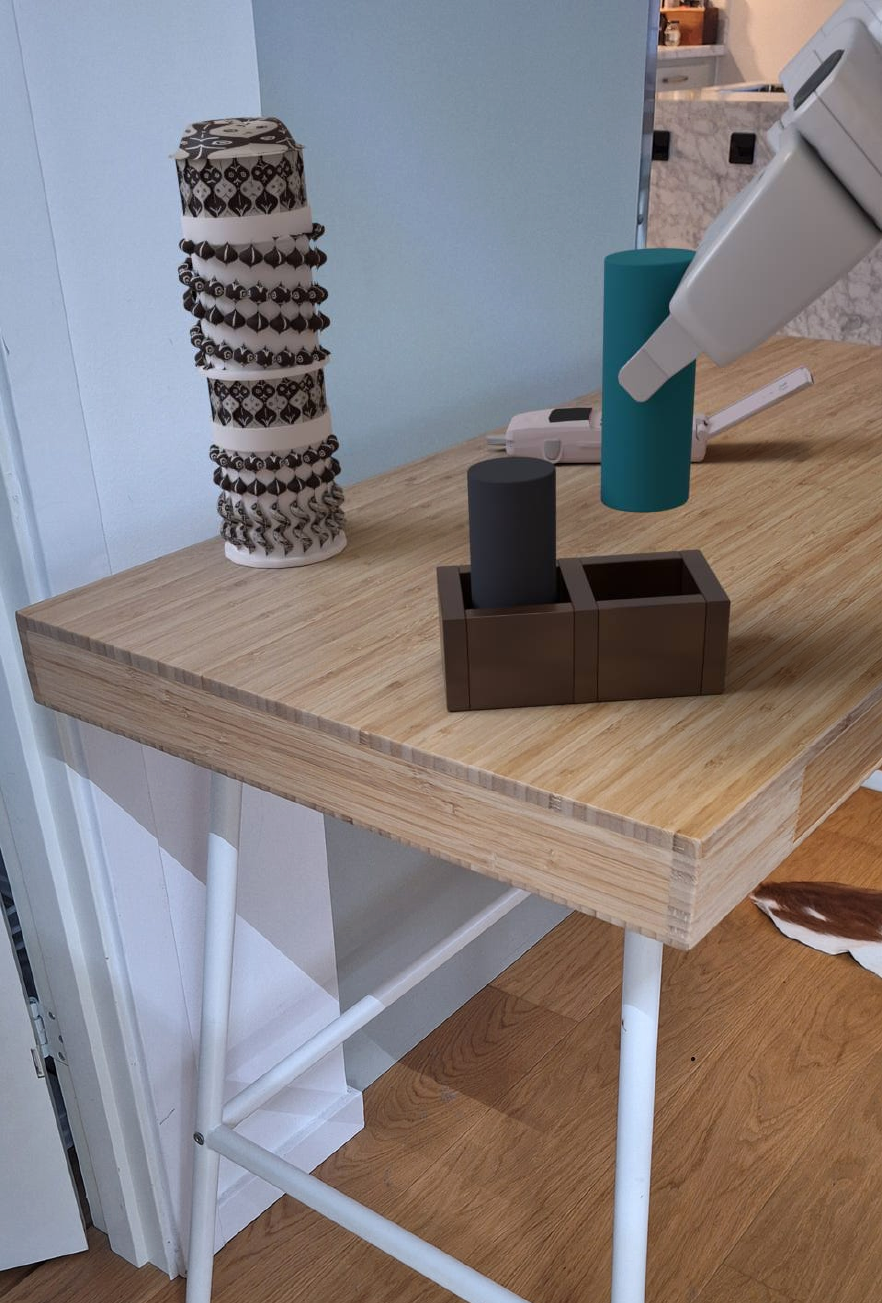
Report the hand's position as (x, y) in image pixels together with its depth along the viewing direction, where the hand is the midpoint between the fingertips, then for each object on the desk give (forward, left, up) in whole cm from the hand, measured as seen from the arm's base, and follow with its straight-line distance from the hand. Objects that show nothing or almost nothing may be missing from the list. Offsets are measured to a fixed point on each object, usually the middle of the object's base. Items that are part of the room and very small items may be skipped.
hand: (636, 373), depth 64 cm
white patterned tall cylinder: (+20, -24, -15) cm, 35 cm away
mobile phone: (-7, -41, -15) cm, 44 cm away
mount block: (+3, 0, -15) cm, 15 cm away
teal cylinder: (-1, 0, -6) cm, 6 cm away
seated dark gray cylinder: (+6, 0, -15) cm, 16 cm away
